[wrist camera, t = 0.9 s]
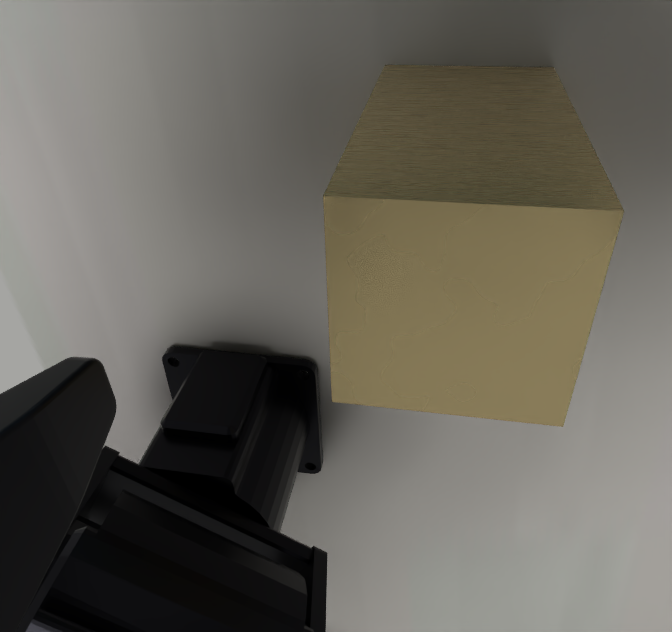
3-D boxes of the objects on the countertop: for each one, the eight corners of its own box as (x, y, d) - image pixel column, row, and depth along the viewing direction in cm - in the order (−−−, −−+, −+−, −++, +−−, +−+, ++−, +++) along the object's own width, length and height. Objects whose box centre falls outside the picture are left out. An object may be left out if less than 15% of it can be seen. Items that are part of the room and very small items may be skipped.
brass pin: (526, 220, 19) (562, 426, 11) (381, 212, 19) (332, 401, 12) (553, 67, 16) (624, 211, 9) (385, 64, 17) (323, 195, 10)
